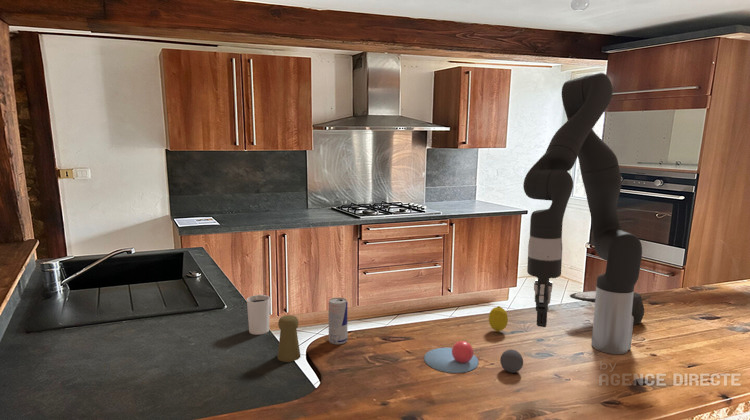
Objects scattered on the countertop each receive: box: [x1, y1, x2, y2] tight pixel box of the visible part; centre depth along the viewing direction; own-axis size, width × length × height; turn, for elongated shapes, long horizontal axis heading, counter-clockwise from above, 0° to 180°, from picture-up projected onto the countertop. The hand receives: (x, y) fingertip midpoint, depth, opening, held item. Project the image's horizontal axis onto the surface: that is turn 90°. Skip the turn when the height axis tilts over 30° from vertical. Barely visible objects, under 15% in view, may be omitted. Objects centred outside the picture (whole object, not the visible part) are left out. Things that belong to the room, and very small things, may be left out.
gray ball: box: [499, 349, 524, 374], centre depth 118 cm, size 6×6×6 cm
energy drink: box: [328, 297, 349, 346], centre depth 135 cm, size 5×5×12 cm
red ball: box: [451, 340, 474, 363], centre depth 123 cm, size 6×6×6 cm
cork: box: [276, 314, 301, 363], centre depth 125 cm, size 6×6×11 cm
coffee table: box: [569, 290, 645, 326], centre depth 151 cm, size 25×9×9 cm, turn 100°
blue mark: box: [423, 347, 479, 374], centre depth 125 cm, size 14×14×1 cm
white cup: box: [246, 294, 271, 336], centre depth 142 cm, size 7×7×10 cm
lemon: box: [488, 305, 509, 333], centre depth 143 cm, size 6×6×8 cm
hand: (541, 325), depth 114 cm, fingers closed
